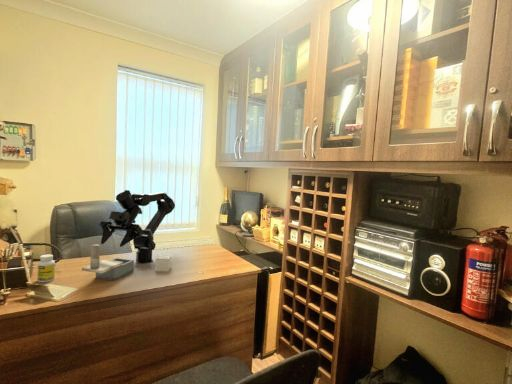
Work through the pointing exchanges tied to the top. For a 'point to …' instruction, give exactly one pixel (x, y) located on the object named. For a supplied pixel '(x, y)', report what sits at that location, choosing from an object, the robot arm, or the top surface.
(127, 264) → the storage box
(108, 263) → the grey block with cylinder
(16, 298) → the top surface
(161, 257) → the white cube
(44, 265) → the supplement bottle
